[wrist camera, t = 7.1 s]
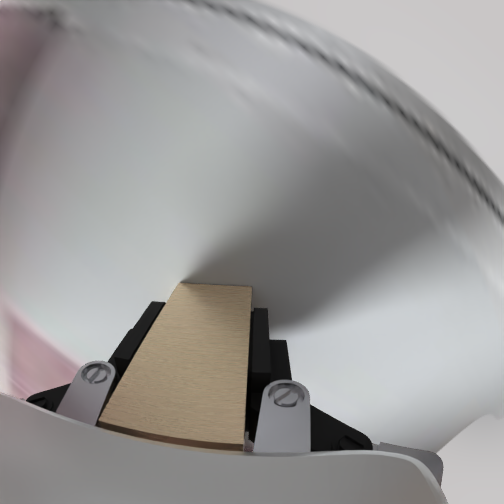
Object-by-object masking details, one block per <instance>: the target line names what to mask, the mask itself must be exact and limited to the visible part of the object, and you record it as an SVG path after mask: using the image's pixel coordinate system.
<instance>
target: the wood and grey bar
mask: <svg viewBox="0 0 504 504" xmlns="http://www.w3.org/2000/svg"><path fill="white" fill-rule="evenodd" d="M251 296H252V287H249V286H227V285H208V284H191V283H178V285H177V287H176V288H175V290H174V291H173V293H172V295H171V296H170V298H169V299H168V301H167V303H166V304H165V306H164V307H163V309H162V311H161V312H160V314H159V316H158V317H157V319H156V321H155V322H154V324H153V325H152V327H151V329H150V330H149V332H148V334H147V335H146V337H145V339H144V341H143V342H142V344H141V346H140V347H139V349H138V351H137V352H136V354H135V356H134V358H133V359H132V361H131V363H130V364H129V366H128V368H127V370H126V371H125V373H124V375H123V377H122V378H121V380H120V382H119V384H118V386H117V387H116V389H115V391H114V393H113V395H112V396H111V398H110V400H109V402H108V404H107V405H106V407H105V409H104V411H103V413H102V415H101V417H100V418H99V420H98V421H99V423H100V425H101V427H102V428H103V429H106V430H110V431H114V432H118V433H121V434H126V435H130V436H134V437H138V438H143V439H148V440H153V441H158V442H164V443H169V444H176V445H182V446H189V447H197V448H205V449H215V450H226V451H242V452H244V444H245V421H246V396H247V371H248V352H249V333H250V314H251Z"/></svg>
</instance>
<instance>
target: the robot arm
mask: <svg viewBox="0 0 504 504" xmlns="http://www.w3.org/2000/svg"><path fill="white" fill-rule="evenodd" d="M165 304H166V303H165V302H155V301H152V302H151V303H150V305H149V306H148V308H147V309H146V310H145V312H144V313H143V315H142V316H141V318H140V319H139V320H138V322H137V323H136V325H135V326H134V328H133V329H130V330H129V331H128V333H127V334H126V336H125V337H124V338H123V340H122V341H121V343H120V344H119V346H118V347H117V349H116V350H115V352H114V353H113V355H112V356H111V358H110V359H109V360H108V362H105V361H92V362H89V363H87V364H85V365H83V366H82V367H81V368H80V369H79V370H78V372H77V374H76V376H75V377H74V379H73V381H72V383H70V384H67V385H64V386H60V387H57V388H54V389H50V390H47V391H43V392H40V393H36V394H34V395H32V396H30V397H29V398H27V400H26V401H25V400H24V399H18V398H16V397H13V396H11V395H7V394H4V393H1V392H0V504H448V502H447V500H446V497H445V495H444V493H443V491H442V489H441V481H442V474H443V462H442V460H441V458H440V457H439V456H438V455H437V454H435V453H433V452H430V451H424V450H418V449H412V448H407V447H402V446H397V445H392V444H387V443H383V442H380V444H379V445H377V444H373V443H372V442H371V440H370V439H369V438H368V437H367V436H366V435H364V434H363V433H361V432H359V431H357V430H356V429H354V428H352V427H350V426H348V425H346V424H344V423H342V422H341V421H339V420H337V419H335V418H333V417H331V416H330V415H328V414H326V413H324V412H323V411H321V410H319V409H317V408H316V407H314V406H312V405H310V395H309V391H308V390H307V388H306V387H305V386H303V385H302V384H301V383H298V382H296V381H292V377H291V370H290V363H289V356H288V348H287V342H286V340H269V325H268V308H254V311H251V314H250V333H249V352H248V371H247V396H246V421H245V432H249V439H248V440H251V441H252V442H253V443H254V449H253V452H242V451H226V450H215V449H205V448H197V447H189V446H182V445H176V444H169V443H164V442H158V441H153V440H148V439H143V438H138V437H134V436H130V435H126V434H121V433H118V432H114V431H110V430H106V429H103V428H102V427H101V425H100V423H99V421H98V420H99V418H100V417H101V415H102V413H103V411H104V409H105V407H106V405H107V404H108V402H109V400H110V398H111V396H112V395H113V393H114V391H115V389H116V387H117V386H118V384H119V382H120V380H121V378H122V377H123V375H124V373H125V371H126V370H127V368H128V366H129V364H130V363H131V361H132V359H133V358H134V356H135V354H136V352H137V351H138V349H139V347H140V346H141V344H142V342H143V341H144V339H145V337H146V335H147V334H148V332H149V330H150V329H151V327H152V325H153V324H154V322H155V321H156V319H157V317H158V316H159V314H160V312H161V311H162V309H163V307H164V306H165Z"/></svg>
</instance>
